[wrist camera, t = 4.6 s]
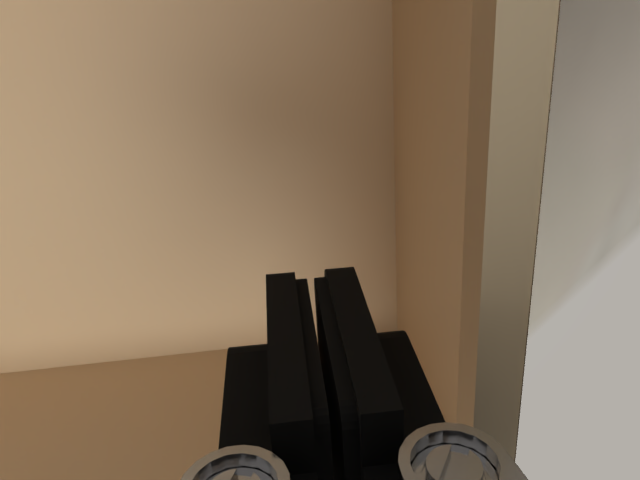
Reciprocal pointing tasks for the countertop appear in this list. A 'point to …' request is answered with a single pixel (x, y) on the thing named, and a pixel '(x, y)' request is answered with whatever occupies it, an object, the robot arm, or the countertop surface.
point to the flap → (512, 207)
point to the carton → (224, 205)
